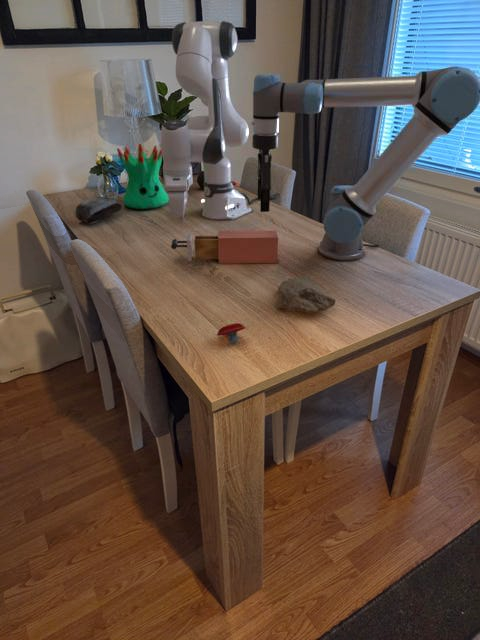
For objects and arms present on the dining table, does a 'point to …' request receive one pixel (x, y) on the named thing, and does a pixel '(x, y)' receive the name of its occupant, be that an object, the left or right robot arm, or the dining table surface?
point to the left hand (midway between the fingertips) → (181, 221)
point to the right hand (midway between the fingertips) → (263, 204)
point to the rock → (96, 209)
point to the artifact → (302, 296)
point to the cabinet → (247, 246)
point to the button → (231, 331)
